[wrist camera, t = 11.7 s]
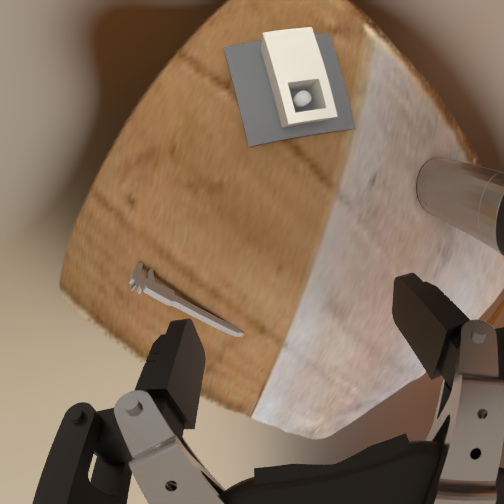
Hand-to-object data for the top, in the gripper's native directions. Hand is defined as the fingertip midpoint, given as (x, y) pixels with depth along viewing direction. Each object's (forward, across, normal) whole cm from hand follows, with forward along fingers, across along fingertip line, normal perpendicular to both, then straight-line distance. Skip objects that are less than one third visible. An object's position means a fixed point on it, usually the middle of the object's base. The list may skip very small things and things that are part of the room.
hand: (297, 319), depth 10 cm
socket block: (+26, -6, -13) cm, 30 cm away
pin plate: (+28, -6, -13) cm, 31 cm away
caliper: (+28, +14, +14) cm, 35 cm away
